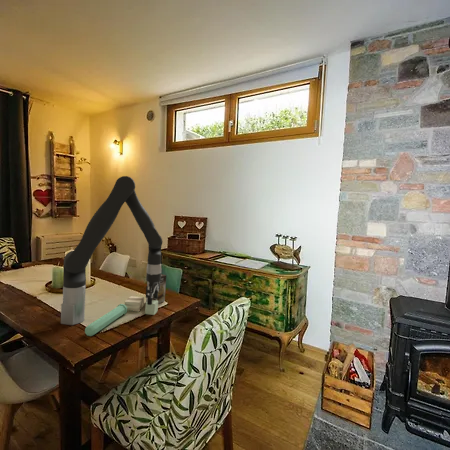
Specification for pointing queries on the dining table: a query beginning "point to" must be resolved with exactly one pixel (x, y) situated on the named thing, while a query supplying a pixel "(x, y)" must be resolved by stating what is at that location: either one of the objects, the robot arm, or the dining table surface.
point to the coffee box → (160, 290)
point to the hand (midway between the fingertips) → (152, 301)
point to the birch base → (134, 303)
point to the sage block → (151, 308)
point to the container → (105, 320)
